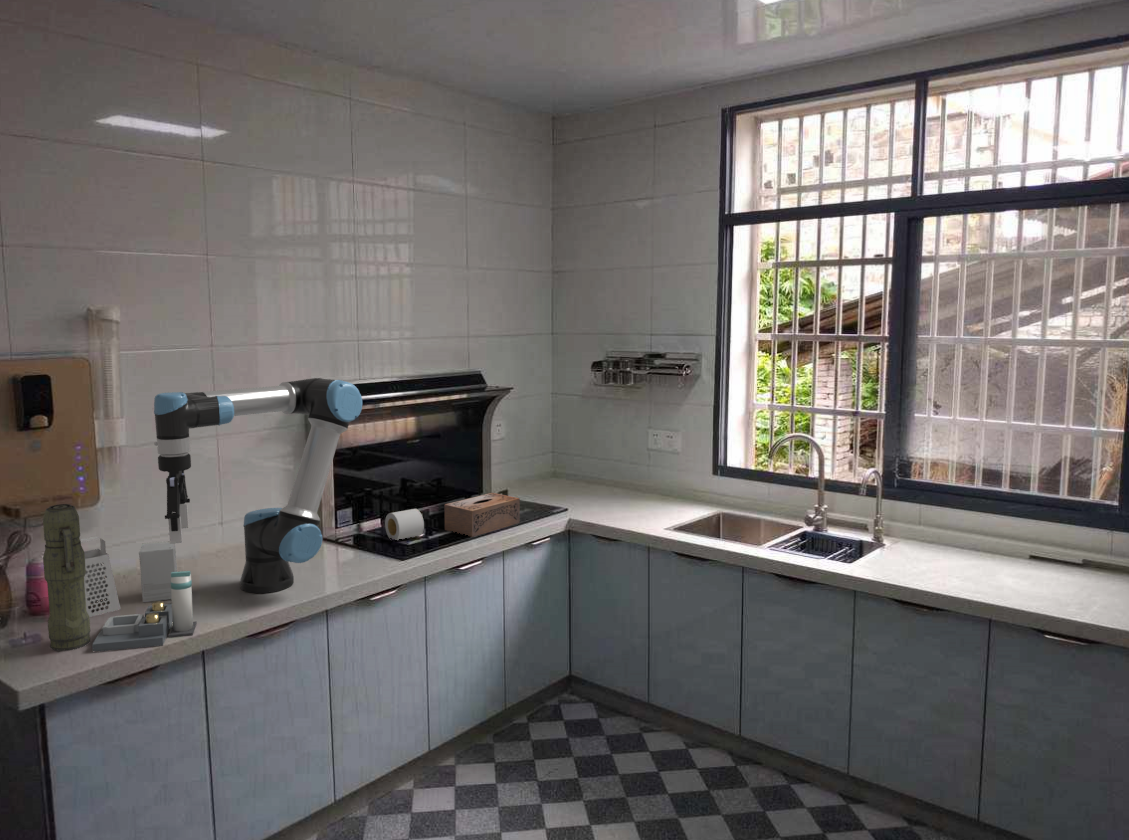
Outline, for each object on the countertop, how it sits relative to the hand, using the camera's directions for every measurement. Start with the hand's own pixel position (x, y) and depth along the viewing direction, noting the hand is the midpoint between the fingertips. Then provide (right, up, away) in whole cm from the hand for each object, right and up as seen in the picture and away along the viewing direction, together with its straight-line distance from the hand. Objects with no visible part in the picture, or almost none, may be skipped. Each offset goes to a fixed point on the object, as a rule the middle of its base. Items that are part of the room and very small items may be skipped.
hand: (179, 535), depth 217 cm
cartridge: (0, -24, +2) cm, 24 cm away
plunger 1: (-7, -22, +4) cm, 24 cm away
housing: (-11, -25, -2) cm, 28 cm away
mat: (0, -25, +2) cm, 25 cm away
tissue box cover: (+68, -11, +105) cm, 125 cm away
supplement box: (-18, -21, +27) cm, 39 cm away
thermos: (-24, -26, -7) cm, 36 cm away
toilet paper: (+41, -13, +88) cm, 98 cm away
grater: (-31, -23, +16) cm, 42 cm away
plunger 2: (-5, -23, -4) cm, 24 cm away
